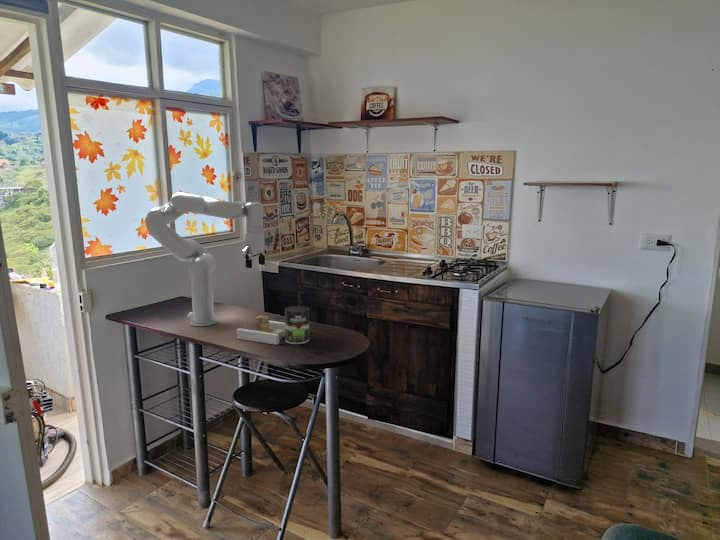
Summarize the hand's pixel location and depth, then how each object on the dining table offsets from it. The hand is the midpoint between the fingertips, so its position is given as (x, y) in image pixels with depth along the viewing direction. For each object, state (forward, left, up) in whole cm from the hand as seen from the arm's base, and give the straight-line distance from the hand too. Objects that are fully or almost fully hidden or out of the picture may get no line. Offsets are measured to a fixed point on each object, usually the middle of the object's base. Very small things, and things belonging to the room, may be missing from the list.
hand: (255, 266), depth 230 cm
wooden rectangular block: (+17, -14, -27) cm, 35 cm away
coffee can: (+30, -14, -28) cm, 43 cm away
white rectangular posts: (+15, -14, -27) cm, 34 cm away
